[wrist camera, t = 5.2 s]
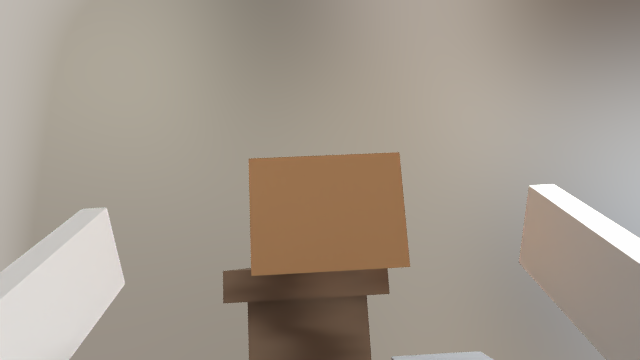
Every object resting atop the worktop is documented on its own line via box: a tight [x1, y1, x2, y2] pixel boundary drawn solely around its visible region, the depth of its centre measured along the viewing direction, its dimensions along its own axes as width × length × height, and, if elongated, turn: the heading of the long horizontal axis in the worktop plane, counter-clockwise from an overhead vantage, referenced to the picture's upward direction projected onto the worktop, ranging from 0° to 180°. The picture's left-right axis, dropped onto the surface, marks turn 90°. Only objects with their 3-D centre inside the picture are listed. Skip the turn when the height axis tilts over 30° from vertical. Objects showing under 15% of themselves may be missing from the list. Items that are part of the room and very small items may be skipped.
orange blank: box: [249, 152, 410, 276], centre depth 23 cm, size 4×26×3 cm, turn 3°
